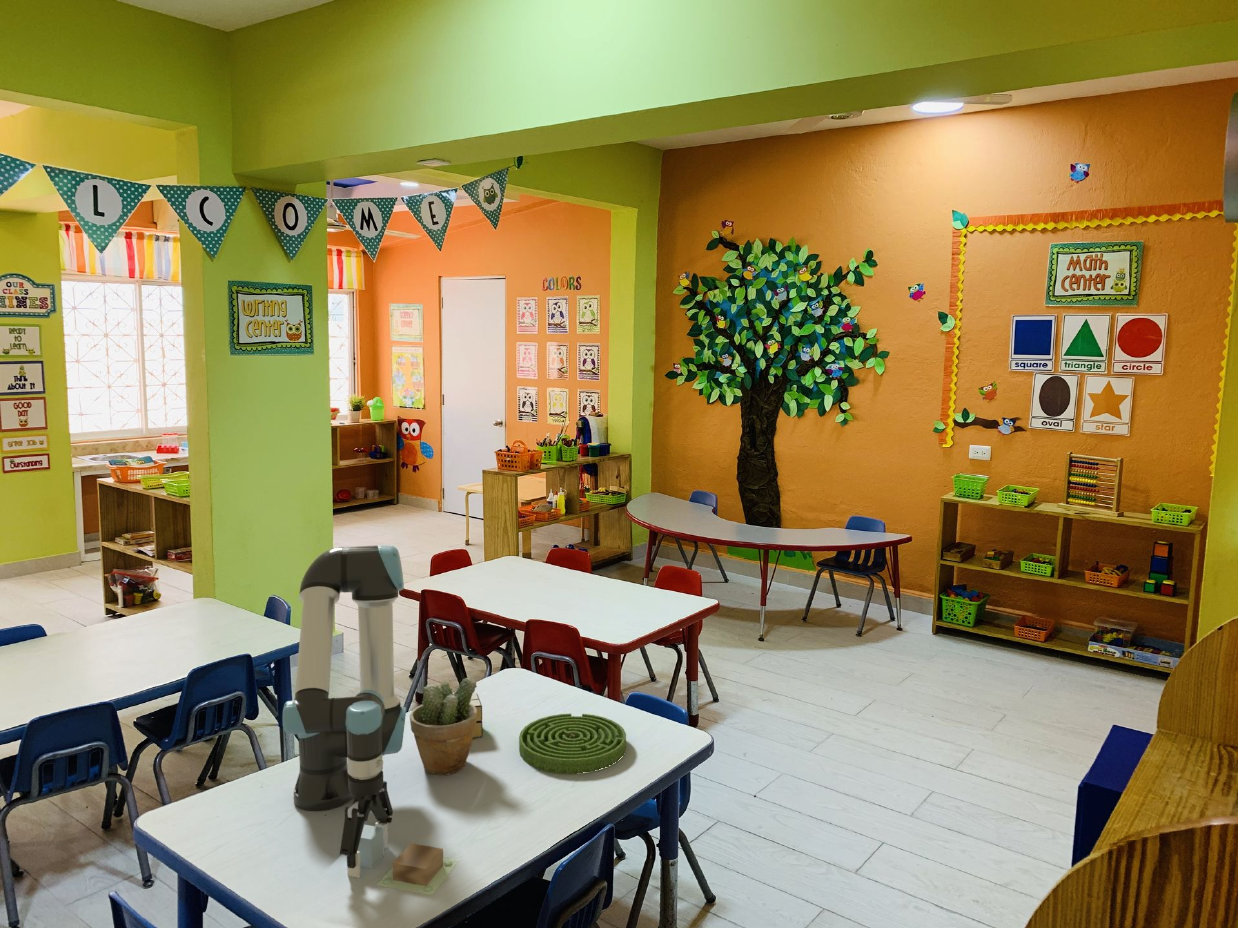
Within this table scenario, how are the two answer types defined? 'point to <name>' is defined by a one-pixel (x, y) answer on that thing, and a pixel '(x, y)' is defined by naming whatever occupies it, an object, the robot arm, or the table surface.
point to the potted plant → (445, 726)
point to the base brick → (418, 864)
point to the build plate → (428, 889)
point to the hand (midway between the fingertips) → (368, 863)
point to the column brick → (371, 846)
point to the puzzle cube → (477, 704)
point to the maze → (572, 743)
